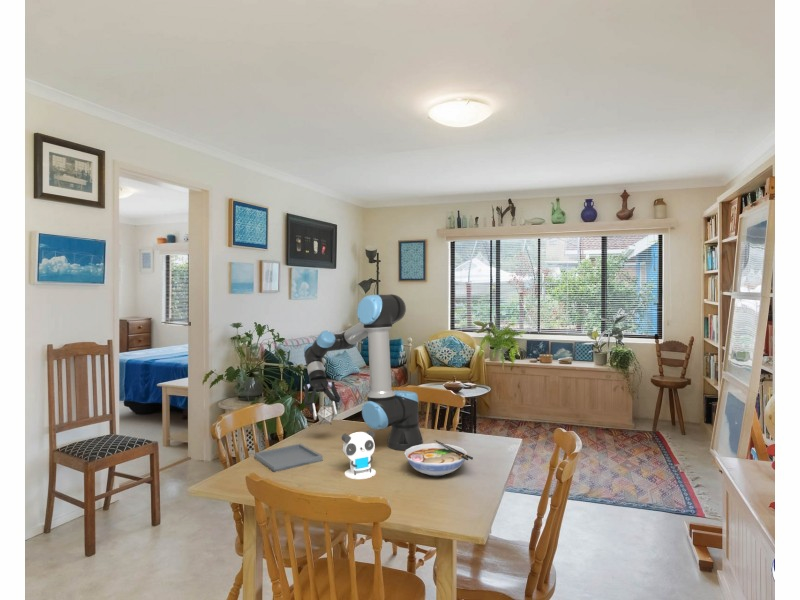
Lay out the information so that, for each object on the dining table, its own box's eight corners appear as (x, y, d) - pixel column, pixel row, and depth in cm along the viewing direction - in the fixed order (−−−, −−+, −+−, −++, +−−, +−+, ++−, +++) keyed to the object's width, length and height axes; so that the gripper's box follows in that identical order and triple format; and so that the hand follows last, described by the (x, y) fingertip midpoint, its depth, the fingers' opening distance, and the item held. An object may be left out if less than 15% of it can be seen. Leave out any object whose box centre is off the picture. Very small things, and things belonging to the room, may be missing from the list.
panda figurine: (349, 481, 176) (348, 439, 176) (338, 471, 186) (337, 431, 186) (380, 475, 181) (379, 434, 181) (368, 466, 191) (368, 426, 191)
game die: (329, 431, 219) (342, 411, 222) (325, 429, 211) (339, 408, 214) (313, 420, 221) (326, 400, 224) (308, 417, 213) (322, 397, 216)
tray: (322, 460, 198) (322, 455, 198) (274, 472, 186) (273, 466, 186) (300, 448, 214) (300, 443, 214) (254, 458, 202) (254, 453, 202)
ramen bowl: (393, 466, 190) (393, 445, 190) (447, 457, 199) (446, 437, 199) (422, 490, 167) (422, 466, 167) (481, 479, 176) (481, 456, 176)
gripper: (337, 376, 235) (348, 418, 221) (292, 380, 228) (300, 424, 213) (340, 367, 230) (351, 409, 216) (294, 370, 223) (302, 414, 208)
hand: (325, 416), depth 214 cm, fingers closed on game die, 8 cm apart
